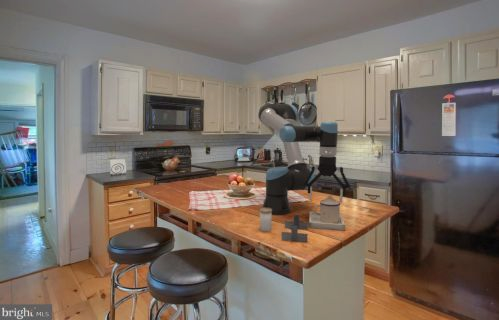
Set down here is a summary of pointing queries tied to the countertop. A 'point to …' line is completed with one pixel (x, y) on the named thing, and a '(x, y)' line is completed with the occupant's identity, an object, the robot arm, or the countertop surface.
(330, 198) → the teacup with lid
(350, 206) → the countertop surface
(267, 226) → the jar
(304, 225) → the clip cradle
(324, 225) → the tray
